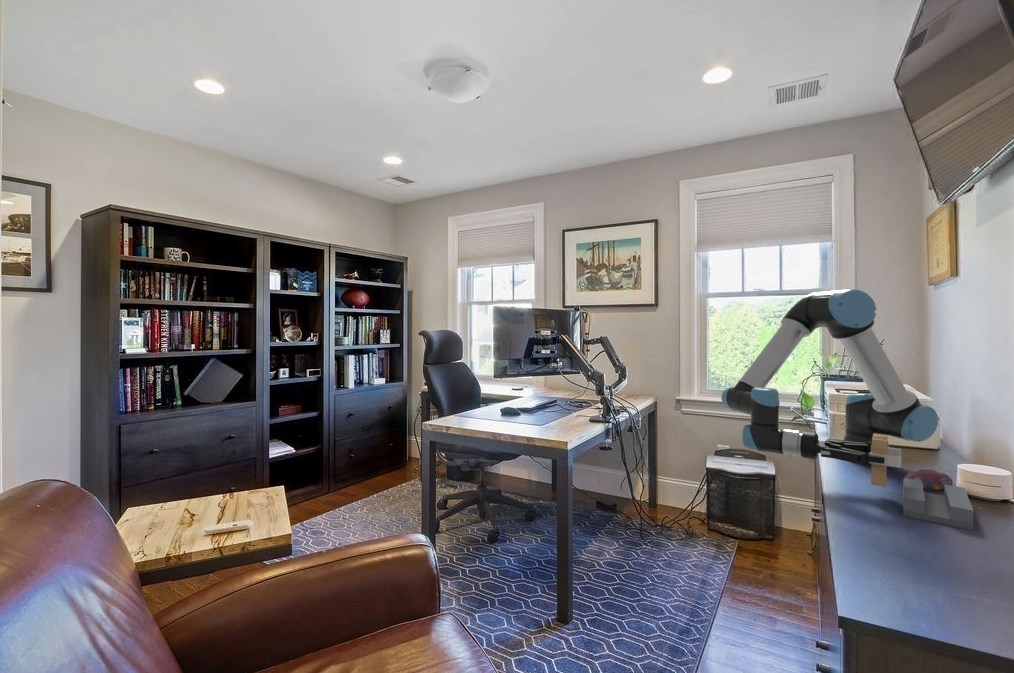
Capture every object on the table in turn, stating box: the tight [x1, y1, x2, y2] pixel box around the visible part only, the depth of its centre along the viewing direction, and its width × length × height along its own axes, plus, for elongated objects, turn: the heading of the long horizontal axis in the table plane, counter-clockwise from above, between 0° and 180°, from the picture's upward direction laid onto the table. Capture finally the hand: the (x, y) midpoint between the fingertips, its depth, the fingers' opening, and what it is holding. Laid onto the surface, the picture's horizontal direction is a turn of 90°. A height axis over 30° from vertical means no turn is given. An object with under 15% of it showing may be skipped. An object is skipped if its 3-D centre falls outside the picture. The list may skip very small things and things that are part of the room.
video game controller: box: [904, 468, 954, 491], centre depth 132 cm, size 10×5×7 cm, turn 63°
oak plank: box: [870, 433, 888, 488], centre depth 125 cm, size 9×3×12 cm, turn 140°
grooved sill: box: [902, 477, 974, 531], centre depth 117 cm, size 20×12×4 cm, turn 140°
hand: (901, 458), depth 122 cm, fingers closed on oak plank, 9 cm apart
